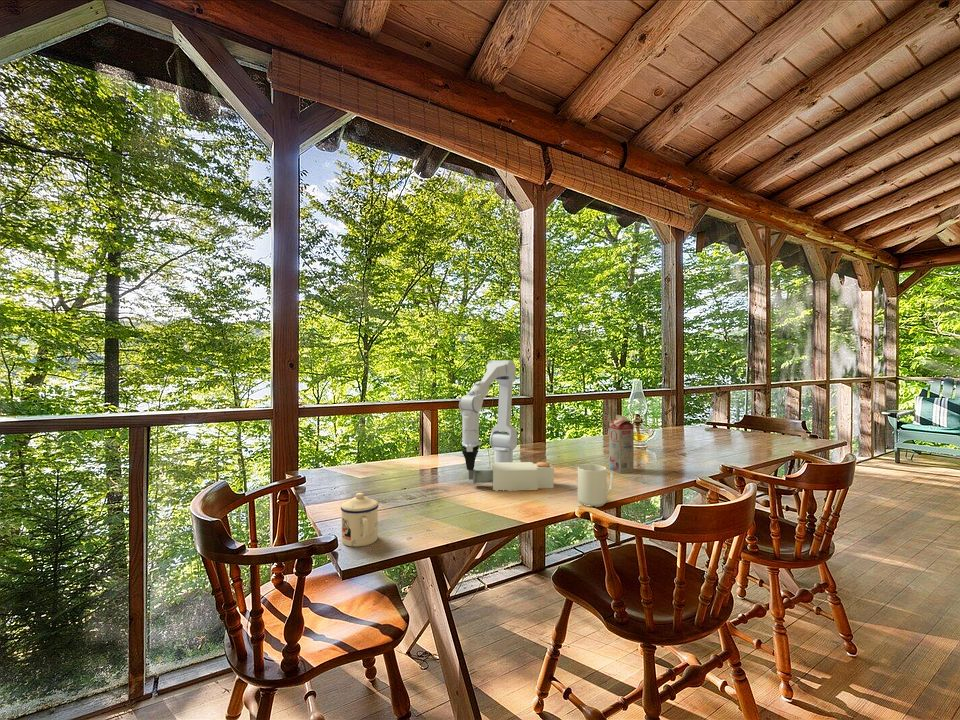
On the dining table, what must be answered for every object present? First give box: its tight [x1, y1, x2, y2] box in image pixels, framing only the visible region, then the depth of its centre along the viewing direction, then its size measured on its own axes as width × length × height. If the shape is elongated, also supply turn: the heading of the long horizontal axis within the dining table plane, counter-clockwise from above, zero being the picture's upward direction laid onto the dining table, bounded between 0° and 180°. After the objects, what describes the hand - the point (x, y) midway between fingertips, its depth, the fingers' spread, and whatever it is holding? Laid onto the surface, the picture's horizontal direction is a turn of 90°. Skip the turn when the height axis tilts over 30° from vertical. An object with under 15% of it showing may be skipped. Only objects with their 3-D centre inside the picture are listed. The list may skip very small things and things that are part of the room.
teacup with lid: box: [340, 492, 380, 548], centre depth 117 cm, size 12×9×12 cm
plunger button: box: [536, 461, 551, 467], centre depth 168 cm, size 5×5×4 cm
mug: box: [577, 463, 615, 508], centre depth 148 cm, size 12×9×11 cm
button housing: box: [490, 461, 555, 492], centre depth 167 cm, size 12×21×7 cm, turn 93°
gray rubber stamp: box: [467, 469, 493, 485], centre depth 167 cm, size 5×12×8 cm, turn 93°
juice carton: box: [608, 414, 635, 474], centre depth 189 cm, size 7×7×22 cm
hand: (470, 468), depth 166 cm, fingers closed on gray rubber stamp, 4 cm apart
